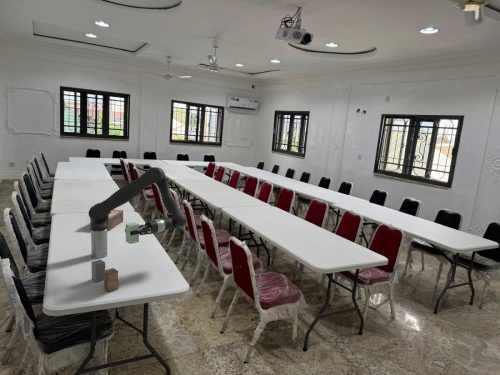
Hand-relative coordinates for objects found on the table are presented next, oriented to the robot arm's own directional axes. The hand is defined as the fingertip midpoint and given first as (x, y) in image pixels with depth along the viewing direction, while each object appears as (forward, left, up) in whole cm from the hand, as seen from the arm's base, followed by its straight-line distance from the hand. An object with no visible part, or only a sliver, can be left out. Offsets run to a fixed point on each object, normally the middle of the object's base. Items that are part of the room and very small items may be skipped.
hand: (127, 232), depth 184 cm
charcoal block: (-7, -13, -26) cm, 30 cm away
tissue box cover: (-92, +34, -26) cm, 102 cm away
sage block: (0, +3, -6) cm, 7 cm away
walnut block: (+7, -13, -26) cm, 30 cm away
